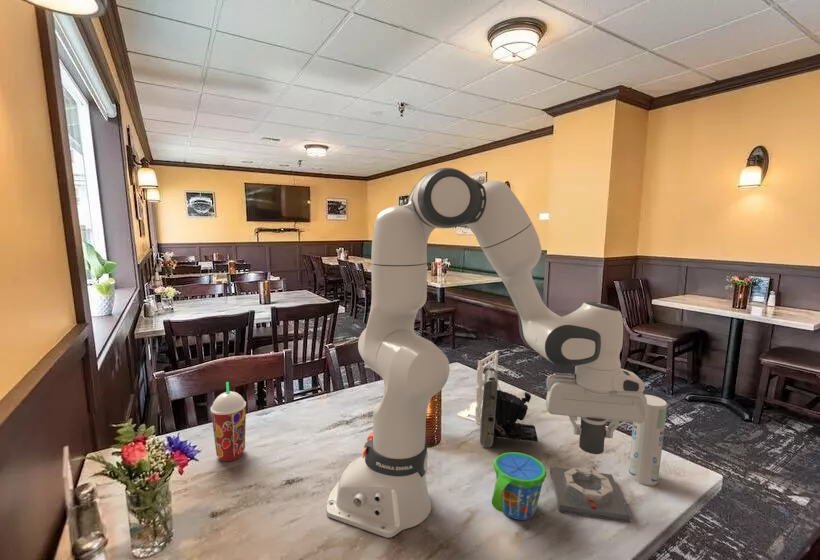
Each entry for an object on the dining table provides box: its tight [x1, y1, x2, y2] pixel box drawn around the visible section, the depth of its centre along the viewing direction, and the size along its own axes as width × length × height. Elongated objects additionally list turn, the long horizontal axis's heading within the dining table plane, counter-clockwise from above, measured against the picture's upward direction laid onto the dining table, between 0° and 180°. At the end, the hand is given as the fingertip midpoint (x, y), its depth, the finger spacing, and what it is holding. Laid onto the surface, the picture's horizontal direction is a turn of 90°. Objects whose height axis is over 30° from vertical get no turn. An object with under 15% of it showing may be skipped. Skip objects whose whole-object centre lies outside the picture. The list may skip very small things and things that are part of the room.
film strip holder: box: [457, 350, 502, 426], centre depth 126 cm, size 14×14×20 cm
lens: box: [578, 417, 607, 455], centre depth 88 cm, size 5×5×8 cm
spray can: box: [628, 393, 668, 486], centre depth 95 cm, size 6×6×20 cm
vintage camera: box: [479, 367, 539, 449], centre depth 110 cm, size 10×16×20 cm, turn 79°
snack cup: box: [491, 451, 547, 521], centre depth 84 cm, size 16×10×10 cm
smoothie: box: [209, 381, 247, 462], centre depth 102 cm, size 8×8×20 cm
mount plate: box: [549, 466, 632, 523], centre depth 90 cm, size 14×14×4 cm
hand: (592, 435), depth 88 cm, fingers closed on lens, 5 cm apart
